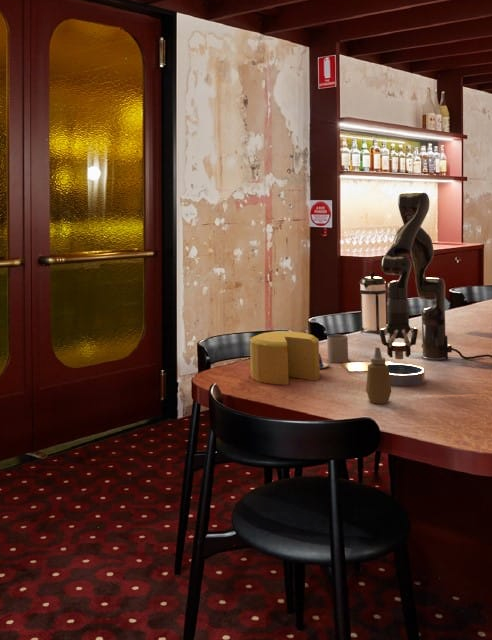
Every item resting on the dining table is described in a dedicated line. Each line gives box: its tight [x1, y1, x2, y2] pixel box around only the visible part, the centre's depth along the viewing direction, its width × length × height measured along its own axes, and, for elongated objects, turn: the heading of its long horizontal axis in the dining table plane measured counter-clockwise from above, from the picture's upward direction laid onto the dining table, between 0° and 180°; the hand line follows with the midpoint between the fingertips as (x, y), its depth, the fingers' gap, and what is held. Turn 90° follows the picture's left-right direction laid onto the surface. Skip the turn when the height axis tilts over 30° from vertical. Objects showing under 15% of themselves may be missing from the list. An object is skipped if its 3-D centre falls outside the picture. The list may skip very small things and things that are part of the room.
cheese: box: [249, 330, 320, 385], centre depth 275 cm, size 26×26×15 cm
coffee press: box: [358, 271, 388, 335], centre depth 364 cm, size 17×16×30 cm
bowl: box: [386, 363, 426, 387], centre depth 262 cm, size 17×17×5 cm
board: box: [342, 361, 395, 373], centre depth 283 cm, size 20×14×1 cm
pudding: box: [319, 353, 329, 370], centre depth 289 cm, size 12×12×5 cm
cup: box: [326, 334, 349, 364], centre depth 299 cm, size 8×8×10 cm
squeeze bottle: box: [365, 346, 392, 405], centre depth 237 cm, size 8×8×18 cm
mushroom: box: [392, 342, 407, 360], centre depth 262 cm, size 5×5×5 cm
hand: (399, 356), depth 262 cm, fingers closed on mushroom, 5 cm apart
